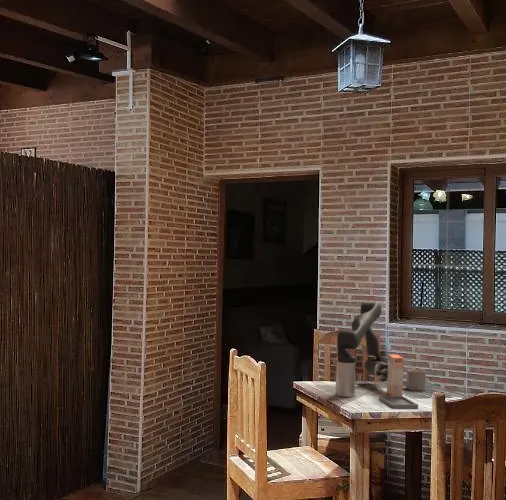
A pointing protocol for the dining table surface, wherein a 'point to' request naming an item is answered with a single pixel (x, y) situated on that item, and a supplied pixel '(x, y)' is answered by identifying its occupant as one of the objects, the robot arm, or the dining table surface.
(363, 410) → the dining table surface
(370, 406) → the dining table surface
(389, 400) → the tray
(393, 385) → the cracker box
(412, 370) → the coffee mug
